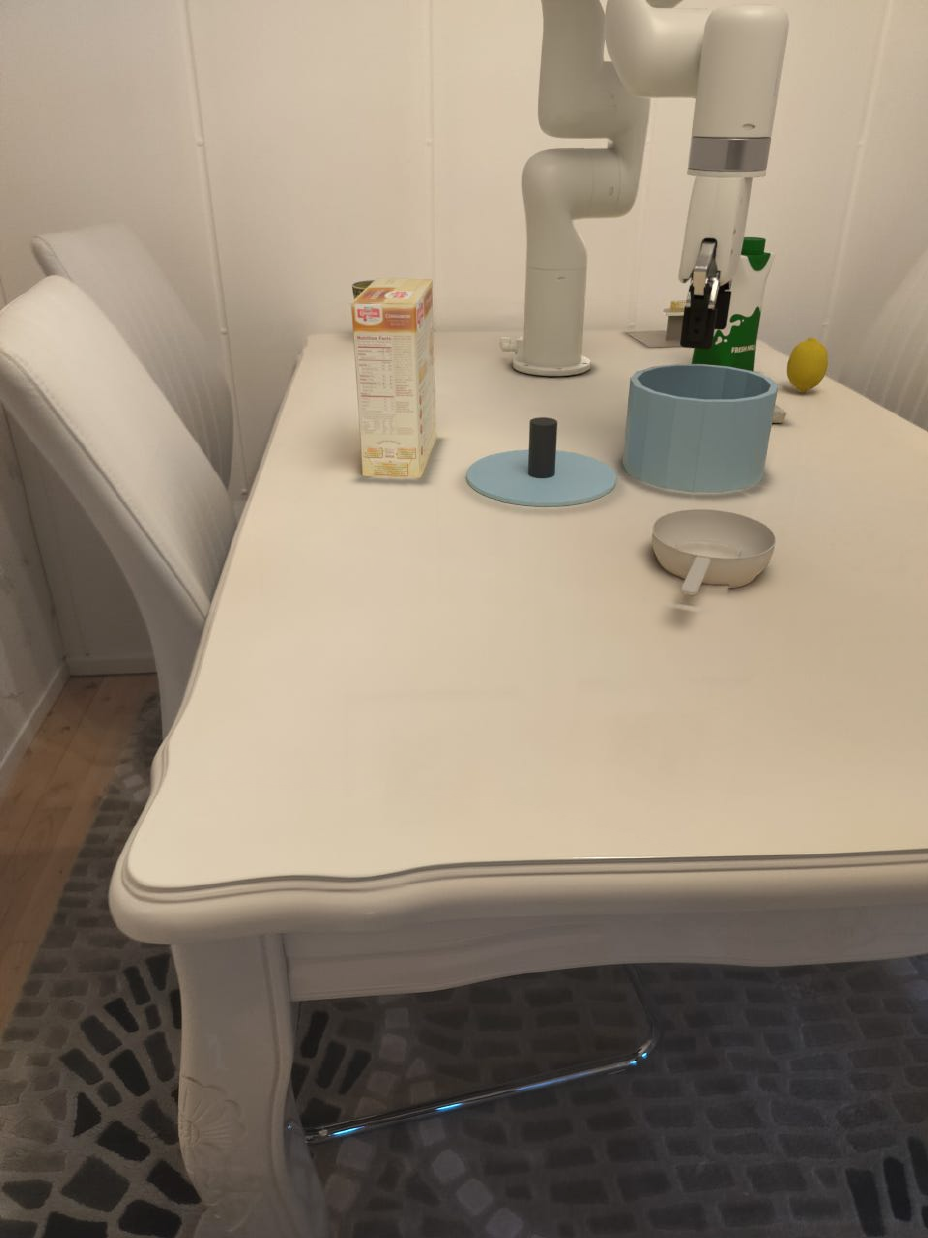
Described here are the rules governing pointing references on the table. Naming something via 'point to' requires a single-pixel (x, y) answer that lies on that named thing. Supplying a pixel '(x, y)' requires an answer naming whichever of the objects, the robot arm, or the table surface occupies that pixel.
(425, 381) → the coffeecake box
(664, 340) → the platform
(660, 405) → the bowl
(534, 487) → the blue pot lid
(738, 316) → the milk carton
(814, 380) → the lemon
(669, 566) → the saucepan
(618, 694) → the table surface
